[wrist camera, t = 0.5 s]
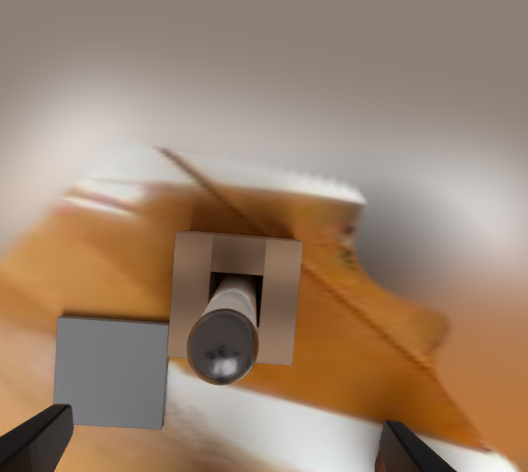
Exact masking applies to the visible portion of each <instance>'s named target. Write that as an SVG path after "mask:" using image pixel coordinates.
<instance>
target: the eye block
mask: <svg viewBox="0 0 528 472" xmlns="http://www.w3.org/2000/svg"><path fill="white" fill-rule="evenodd" d="M302 248H303V242H301V241H299V240H296V239H289V238H277V237H264V236H252V235H240V234H228V233H215V232H203V231H191V230H188V231H179V232H176V237H175V252H174V266H173V280H172V295H171V309H170V324H169V338H168V352H167V357H172V358H187V359H188V357H187V340H188V336H189V334H190V331H191V329H192V327H193V326H194V324H195V323H196V322H197V321H198V320H199V319H200V318H201V316H202V314H203V313H204V311H205V309H206V307H207V306H208V304H209V302H210V300H211V299H212V297H213V295H214V293H215V291H216V278H217V272H225V273H238V274H251V275H261V286H260V298H259V310H256V326H257V334H258V338H259V351H258V356H257V359H256V361H255V363H265V364H280V365H292V360H293V348H294V337H295V326H296V315H297V304H298V292H299V281H300V270H301V259H302Z"/></svg>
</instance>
